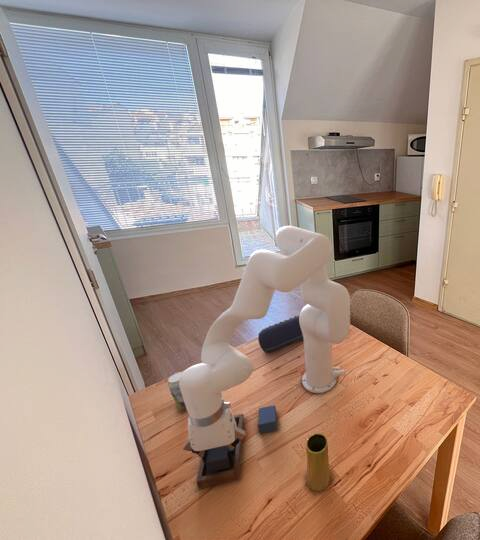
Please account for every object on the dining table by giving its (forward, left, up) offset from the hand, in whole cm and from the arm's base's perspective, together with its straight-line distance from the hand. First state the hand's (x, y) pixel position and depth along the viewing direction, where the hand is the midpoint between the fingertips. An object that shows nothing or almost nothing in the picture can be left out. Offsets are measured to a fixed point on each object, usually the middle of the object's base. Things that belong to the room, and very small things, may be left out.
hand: (220, 458), depth 78 cm
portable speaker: (-20, -49, -3) cm, 53 cm away
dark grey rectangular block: (0, 0, 0) cm, 0 cm away
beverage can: (+14, -24, -3) cm, 28 cm away
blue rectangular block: (-12, -10, -3) cm, 16 cm away
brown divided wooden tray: (0, -4, -3) cm, 5 cm away
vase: (-25, +10, -3) cm, 27 cm away
